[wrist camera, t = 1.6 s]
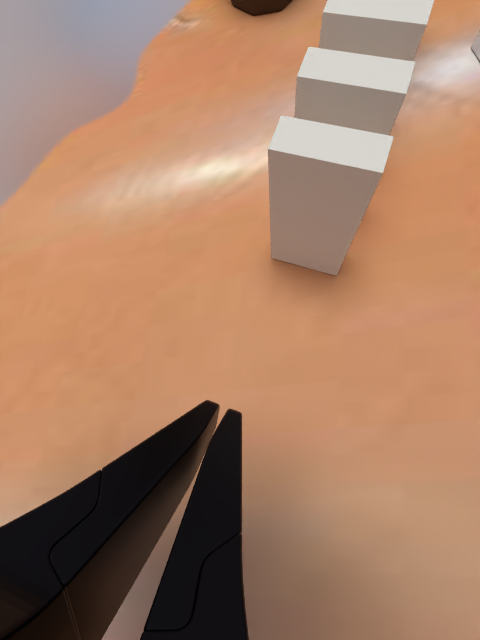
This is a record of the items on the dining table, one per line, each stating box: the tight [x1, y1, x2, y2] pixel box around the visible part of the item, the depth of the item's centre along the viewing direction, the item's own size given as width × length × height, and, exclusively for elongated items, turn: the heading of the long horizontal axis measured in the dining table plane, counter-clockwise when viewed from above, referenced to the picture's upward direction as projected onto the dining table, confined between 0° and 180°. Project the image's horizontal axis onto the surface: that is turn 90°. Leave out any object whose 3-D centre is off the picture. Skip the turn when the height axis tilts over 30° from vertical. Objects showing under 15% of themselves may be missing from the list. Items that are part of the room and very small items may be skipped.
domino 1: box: [268, 115, 394, 276], centre depth 20 cm, size 2×5×11 cm, turn 70°
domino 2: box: [294, 47, 415, 135], centre depth 21 cm, size 2×5×11 cm, turn 70°
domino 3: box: [319, 0, 434, 61], centre depth 22 cm, size 2×5×11 cm, turn 70°
